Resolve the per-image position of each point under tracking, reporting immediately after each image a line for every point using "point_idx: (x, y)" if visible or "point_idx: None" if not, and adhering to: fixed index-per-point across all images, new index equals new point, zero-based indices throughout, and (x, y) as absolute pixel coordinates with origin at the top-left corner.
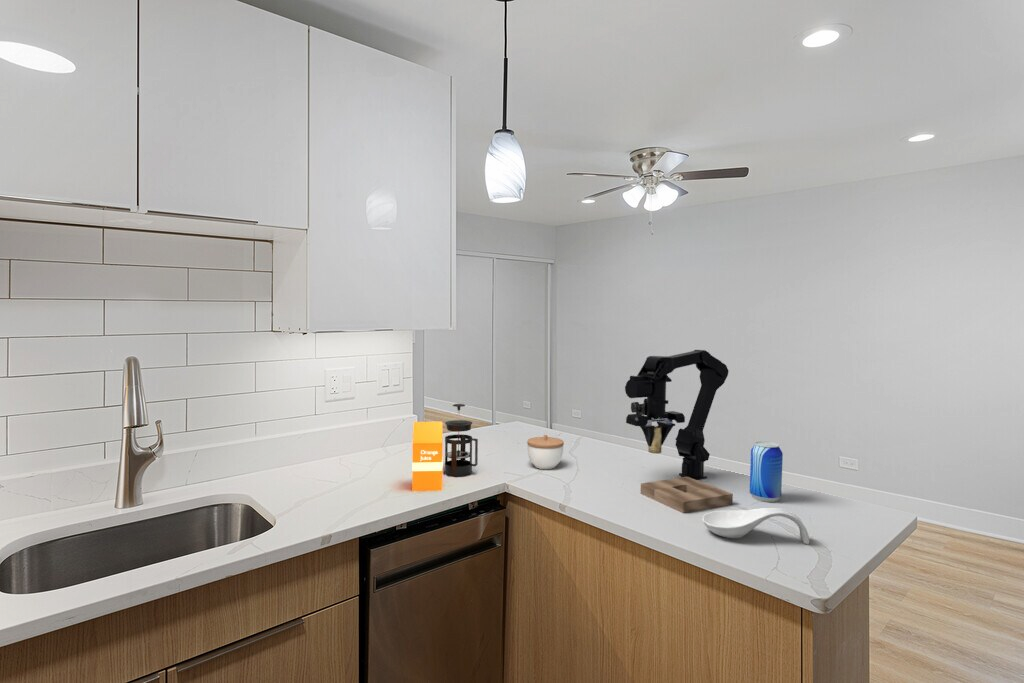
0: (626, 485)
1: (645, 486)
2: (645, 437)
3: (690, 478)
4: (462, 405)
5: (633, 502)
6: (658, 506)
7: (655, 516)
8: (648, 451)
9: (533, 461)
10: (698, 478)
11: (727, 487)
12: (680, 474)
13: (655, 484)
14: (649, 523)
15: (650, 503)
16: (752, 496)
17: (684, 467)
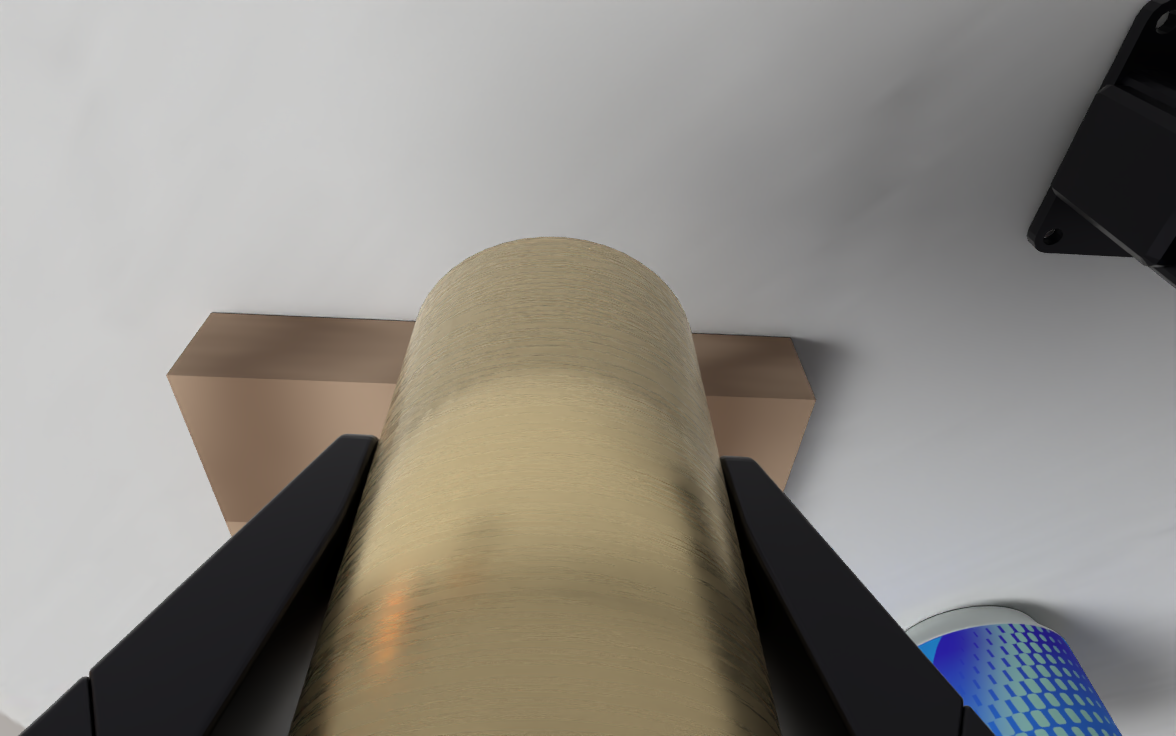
0: (161, 24)
1: (193, 427)
2: (158, 620)
3: (781, 448)
4: None
5: (53, 434)
6: (222, 536)
7: (121, 614)
8: (420, 310)
9: None
10: (1111, 251)
11: (1030, 475)
12: (1132, 44)
13: (312, 444)
14: (44, 651)
15: (190, 488)
16: (916, 630)
17: (1139, 188)
